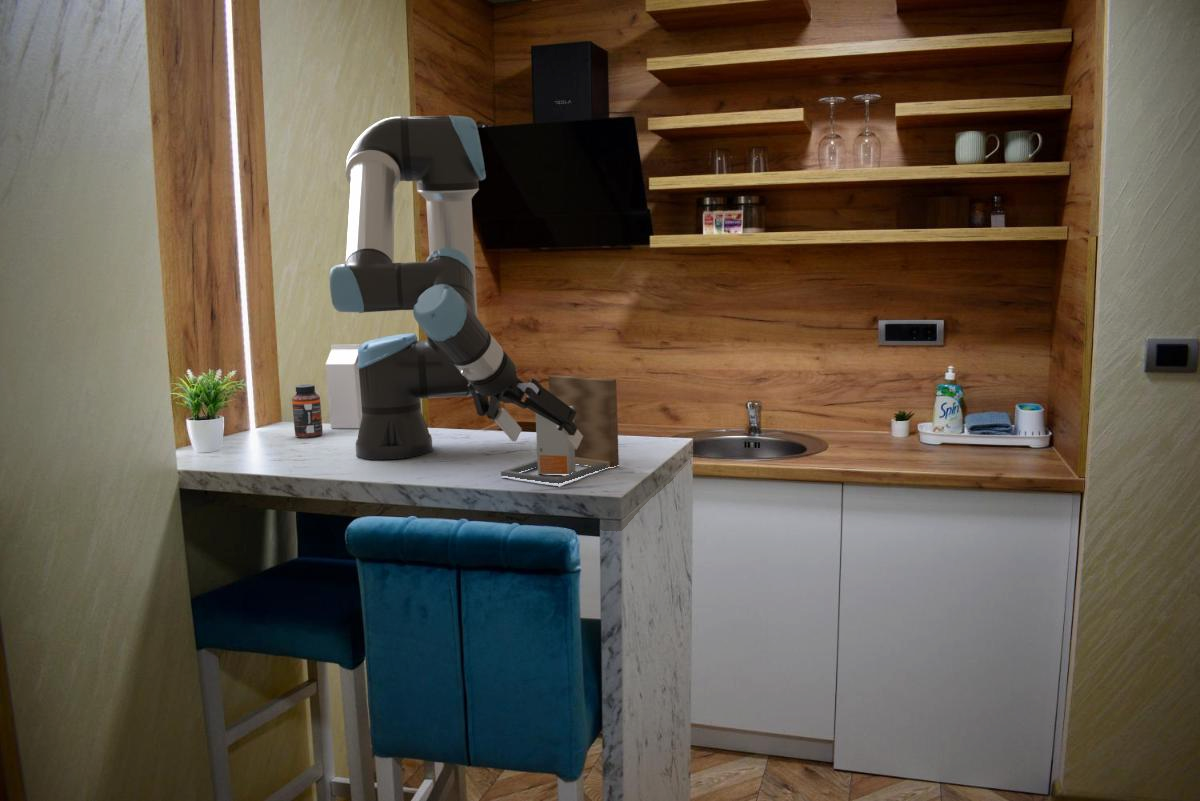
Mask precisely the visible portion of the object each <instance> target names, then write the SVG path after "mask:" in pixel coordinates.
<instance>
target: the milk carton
mask: <svg viewBox="0 0 1200 801" xmlns="http://www.w3.org/2000/svg"><path fill="white" fill-rule="evenodd" d="M330 346H331V349H330V352H329V354H328V357H327V360H326V361H325V371H326V372H325V373H326V374H325V375H326V385H327V394H328V395H327V397H328V408H329V419H330V420H329V422H330V428H331V429H360V424H361V420H362V405H361V391H360V378H359V369H358V368H357V366H358V349H359V347H360V346H361V344H359V343H358V344H357V343H356V344H354V343H353V344H352V343H351V344H330Z"/></svg>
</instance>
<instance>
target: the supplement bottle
mask: <svg viewBox="0 0 1200 801" xmlns="http://www.w3.org/2000/svg"><path fill="white" fill-rule="evenodd" d="M295 392H296V393H295V395H293V397H292V398H291V402H292V403H291V404H292V405H291V406H292V415H293V416H292V417H293V426H294V427H293V428H294V435H295V437H297V438H302V439H303V438H306V439H307V438H315V437H319V436H321V435H322V434H323V432H324V431H323V421H322V420H323V419H322V405H321V397H320V395H319V393H316V387H315V384H299V385H295Z"/></svg>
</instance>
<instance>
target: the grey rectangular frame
mask: <svg viewBox="0 0 1200 801" xmlns="http://www.w3.org/2000/svg"><path fill="white" fill-rule="evenodd" d="M575 464H579V465H578V466H580V465H588V466H591V467H585V468H584V469H580V470H578V471H574V472H573V473H572V474H569V475H566V476H560V477H556V478H555V477H550V476H546V475H538V474H537V475H536V474H530V473H526V472H524V473H519V472H521V471H525V470H528V469H531V468H535V467H538V464H537V459H535V460H532V461H531V460H530V461H528V462H526V463H522V464H520V465H517V466H513V467H510V468H507V469H504V470H501V471H500V477H501V476H508V477H515V478H520V479H527V480H535V481H541V482H549V483H558V484H559V483H563V482H565V481H569V480H572V479H575V478H578V477H581V476H584V475H586V474H589V473H593V472H595V471H599V470H602V469H605V468H608V467H610V462H608V461H601V460H594V459H586V458H579V457H575Z"/></svg>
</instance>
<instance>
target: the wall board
mask: <svg viewBox="0 0 1200 801" xmlns="http://www.w3.org/2000/svg"><path fill="white" fill-rule="evenodd" d="M547 379H548V391H549V392H550V393H551V394H553V395H554V396H556V397H557V398H558V399H560V400H561V401H562V402H564V403H565V404H566V405H568V406H573V407H574V410H575V411H576V412H577V413H576V415H575V417H574V424H575V425H576V426H577V429H578V430H579V432H580V433H581V434H582V436H583V438H582V440H581V442H580V444H579V446H578V448H577V449H575V457H579V458H586V459H594V460H601V461H608V462H610V467H614V466H617V465H619V466H620V463H619V460H620V458H619V427H618V426H619V425H618V424H619V423H618V399H617V398H618V397H617V396H618V392H617V390H618V389H617V378H616V379H613V378H599V377H585V376H576V375H575V376H574V375H573V376H572V375H563V374H562V375H560V374H554V375H553V374H552V375H550V376H548V378H547Z"/></svg>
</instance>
